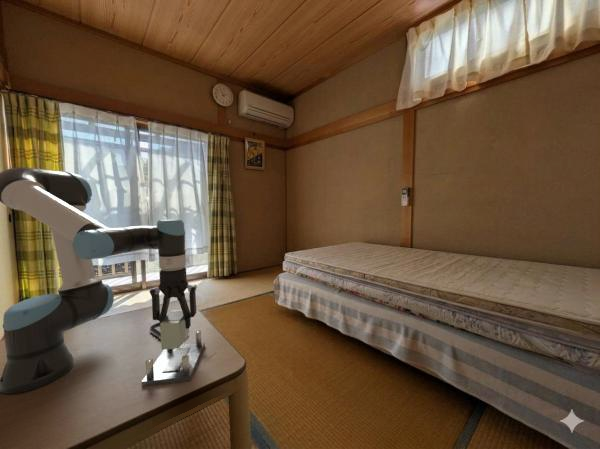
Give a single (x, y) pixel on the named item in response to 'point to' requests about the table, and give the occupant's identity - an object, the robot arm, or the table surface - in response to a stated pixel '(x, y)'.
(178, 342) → the pale green block
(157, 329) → the gaming console
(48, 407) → the table surface
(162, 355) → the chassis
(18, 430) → the table surface
